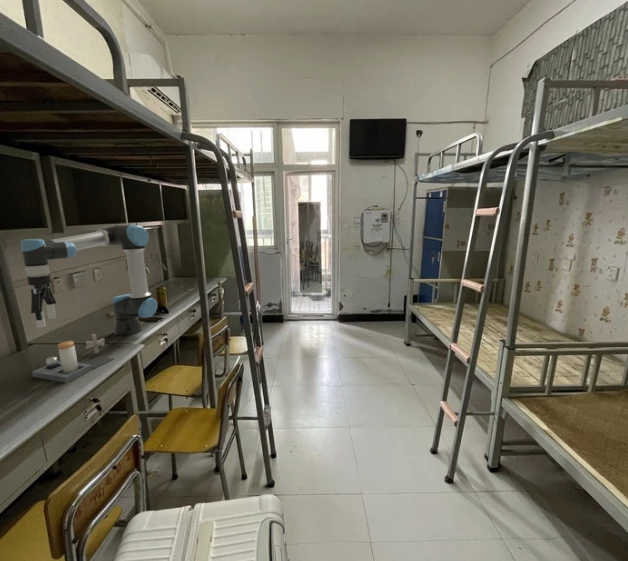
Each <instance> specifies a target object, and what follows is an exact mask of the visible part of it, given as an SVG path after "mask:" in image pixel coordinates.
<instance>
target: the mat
mask: <svg viewBox="0 0 628 561" xmlns="http://www.w3.org/2000/svg"><path fill="white" fill-rule="evenodd" d="M113 360H115V358H111V357H107V356H96V357H94V358H92V359H90V360H87V361H85V362H83V363H84V364H91V365H92V368H93V370H96V369H97V368H99V367H101V366H103V365H105V364H107V363H109V362H112V361H113Z"/></svg>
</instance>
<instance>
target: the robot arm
mask: <svg viewBox="0 0 628 561" xmlns="http://www.w3.org/2000/svg"><path fill="white" fill-rule="evenodd" d="M149 238H150V237H149V233H148V231H147V230H146V229H145V228H144V227H143V226H142V225H137V224H130V225H129V224H126V225H125V224H124V225H123V224H122V225H119V224H118V225H117V224H116V225H113V226H108V227H104V228H99V229H97V230H96V231H93V232H89V233H83V234H82V233H80V234H77V235H71V236H65V237H58V238H54V239H49V240H44V239H42V238H28V239H22V240H21V241H20V247H21V250H20V251H21V252H22V254H21V255H22V258H23V263H24V269H23V270H24V271H25V272H26V276H27V285H29V286H31V287H32V286H33V288H31V289H30V294H31V300H30V301H31V304H30V305H31V307H30V313H31V314H34V318H35V319H34V320H35V324H36V328H37V329H38V328H45V327H47V326H46V325H47V324H46V320H45V314H44V311H43V304H44V301H45V303H46V305H45V308H46V313H47V318H48V319H49V320H50V319H57V314H56V307H55V304H57V301H56V298H55V296H54V294H53V291H52V289H51V285H50V284H51V283H52V279H51V275H50V273H51V271H50V268H49V263H48V261H51V260H63V259H71V258H73V257H75V256H76V255H77V252H78V251H81V250H85V249H86V250H87V249H90V248H97V247H100V246H101V247H108V246H121V250H122V251H123V252H124V253H125V256H126V263H127V270H128V277H129V284H130V289H131V290H130V291H131V292H130V293H126V294H121V295H117V296H114V297H113V298H112V308H113V309H112V310H113V314H114V319H115V320H114V321H115V322H114V328H113V334H114V335H115V336H129V335H132V334H136V333H139V332H141V331H142V330H143V325H142V324H141V322H140V320H139V318H141V319H142V318H151V317H152V316H154V315H155V313H156V311H157V310H158V302H157V299H155V298H153V294H152V293H151V291H149V287H148V280H147V273H146V264H145V255H144V251H145V250H146V245H147V244H148V242H149Z"/></svg>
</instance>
